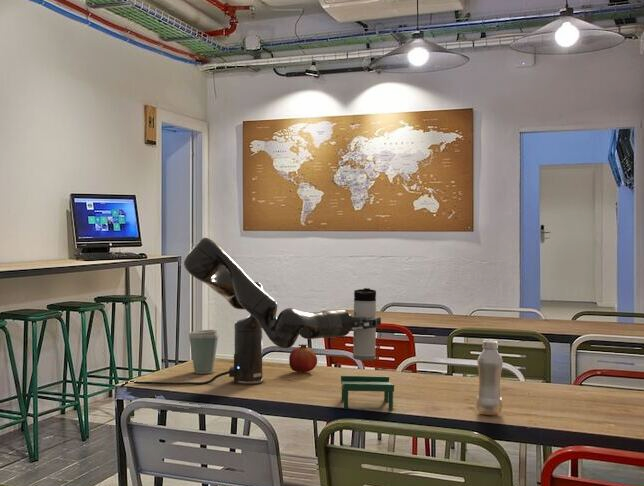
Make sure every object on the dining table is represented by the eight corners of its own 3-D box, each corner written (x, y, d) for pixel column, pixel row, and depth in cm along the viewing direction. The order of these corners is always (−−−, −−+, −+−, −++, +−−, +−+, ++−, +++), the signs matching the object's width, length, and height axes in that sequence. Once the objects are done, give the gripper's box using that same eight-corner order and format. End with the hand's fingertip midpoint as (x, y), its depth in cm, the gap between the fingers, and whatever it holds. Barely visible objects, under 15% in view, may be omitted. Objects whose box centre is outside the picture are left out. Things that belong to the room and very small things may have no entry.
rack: (343, 409, 207) (343, 383, 207) (340, 399, 219) (340, 375, 219) (394, 410, 206) (394, 384, 206) (388, 400, 218) (388, 376, 218)
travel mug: (377, 357, 214) (377, 288, 214) (373, 360, 208) (374, 289, 208) (355, 356, 216) (356, 287, 216) (351, 359, 210) (352, 289, 210)
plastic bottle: (472, 412, 204) (473, 339, 203) (495, 411, 204) (496, 339, 204) (481, 417, 197) (482, 343, 197) (506, 417, 198) (507, 342, 197)
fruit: (306, 369, 269) (306, 341, 269) (323, 373, 260) (323, 345, 260) (282, 371, 264) (282, 343, 263) (298, 376, 255) (298, 347, 255)
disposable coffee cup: (187, 375, 258) (187, 332, 257) (190, 369, 269) (190, 328, 268) (217, 375, 258) (217, 332, 257) (219, 369, 268) (219, 328, 268)
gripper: (311, 334, 208) (351, 330, 219) (350, 340, 197) (390, 335, 208) (311, 308, 208) (351, 305, 219) (350, 312, 197) (390, 308, 208)
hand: (370, 319), depth 213 cm, fingers closed on travel mug, 6 cm apart
